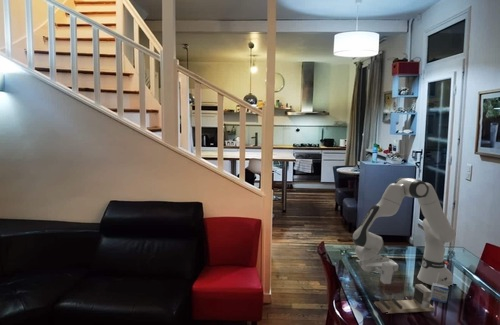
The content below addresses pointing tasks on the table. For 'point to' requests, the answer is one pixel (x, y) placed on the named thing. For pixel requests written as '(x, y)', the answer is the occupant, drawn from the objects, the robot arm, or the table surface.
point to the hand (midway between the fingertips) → (387, 272)
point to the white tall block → (386, 273)
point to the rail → (409, 302)
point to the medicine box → (439, 292)
